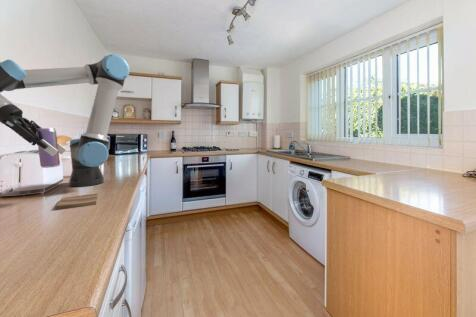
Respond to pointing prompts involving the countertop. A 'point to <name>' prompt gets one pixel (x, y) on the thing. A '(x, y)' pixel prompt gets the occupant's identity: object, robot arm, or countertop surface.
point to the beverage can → (51, 138)
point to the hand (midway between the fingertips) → (59, 152)
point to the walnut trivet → (77, 201)
